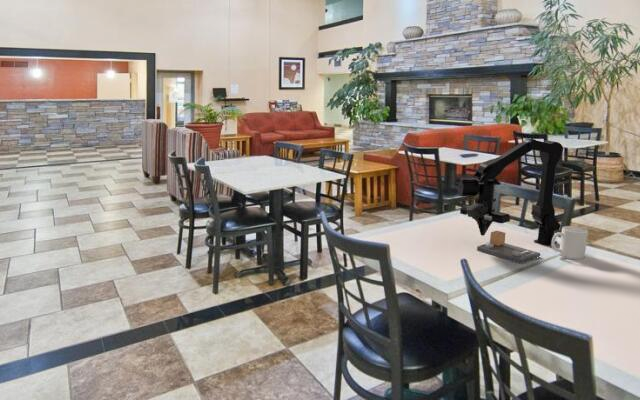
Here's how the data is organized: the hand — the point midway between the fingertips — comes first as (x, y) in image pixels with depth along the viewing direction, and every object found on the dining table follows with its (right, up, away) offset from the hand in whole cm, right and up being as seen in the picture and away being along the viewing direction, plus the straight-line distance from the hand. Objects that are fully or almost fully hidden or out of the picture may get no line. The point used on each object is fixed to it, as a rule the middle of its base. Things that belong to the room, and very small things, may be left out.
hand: (482, 235), depth 190 cm
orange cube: (+4, -3, -5) cm, 7 cm away
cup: (+26, -7, -12) cm, 30 cm away
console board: (+6, -6, -10) cm, 13 cm away
